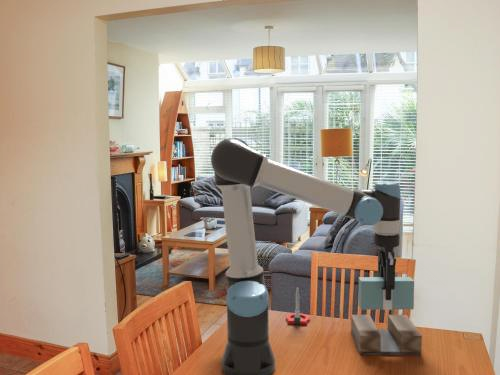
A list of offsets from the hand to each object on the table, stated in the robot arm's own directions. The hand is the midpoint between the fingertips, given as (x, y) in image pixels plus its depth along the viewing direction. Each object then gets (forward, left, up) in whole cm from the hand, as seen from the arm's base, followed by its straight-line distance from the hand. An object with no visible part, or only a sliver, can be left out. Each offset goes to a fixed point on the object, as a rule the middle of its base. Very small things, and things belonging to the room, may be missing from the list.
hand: (385, 306), depth 149 cm
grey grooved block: (0, 0, -12) cm, 12 cm away
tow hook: (-26, +18, -12) cm, 34 cm away
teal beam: (0, 0, 0) cm, 0 cm away
